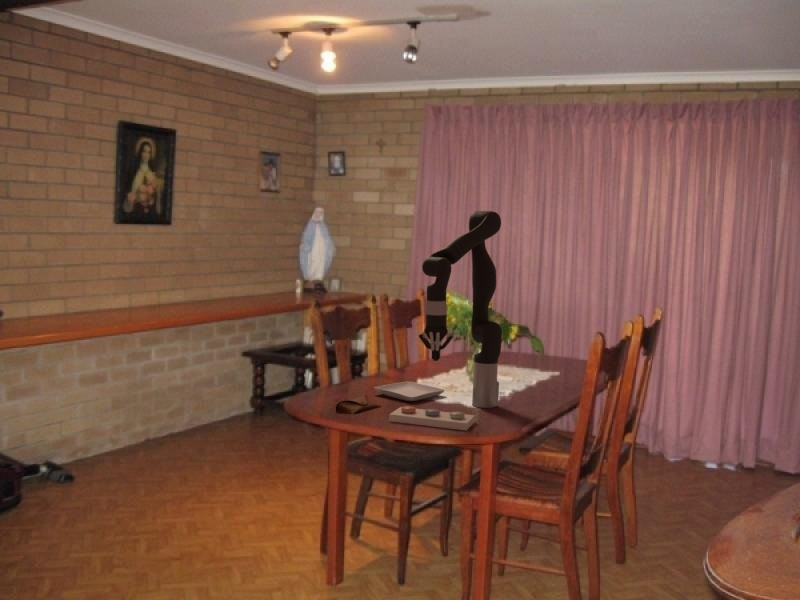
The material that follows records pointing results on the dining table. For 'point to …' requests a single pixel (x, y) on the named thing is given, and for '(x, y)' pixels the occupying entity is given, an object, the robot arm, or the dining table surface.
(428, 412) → the slate button
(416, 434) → the dining table surface
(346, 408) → the sunglasses case
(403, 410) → the terracotta button
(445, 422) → the button panel
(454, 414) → the sage button
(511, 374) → the dining table surface
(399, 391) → the salad plate
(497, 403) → the robot arm
